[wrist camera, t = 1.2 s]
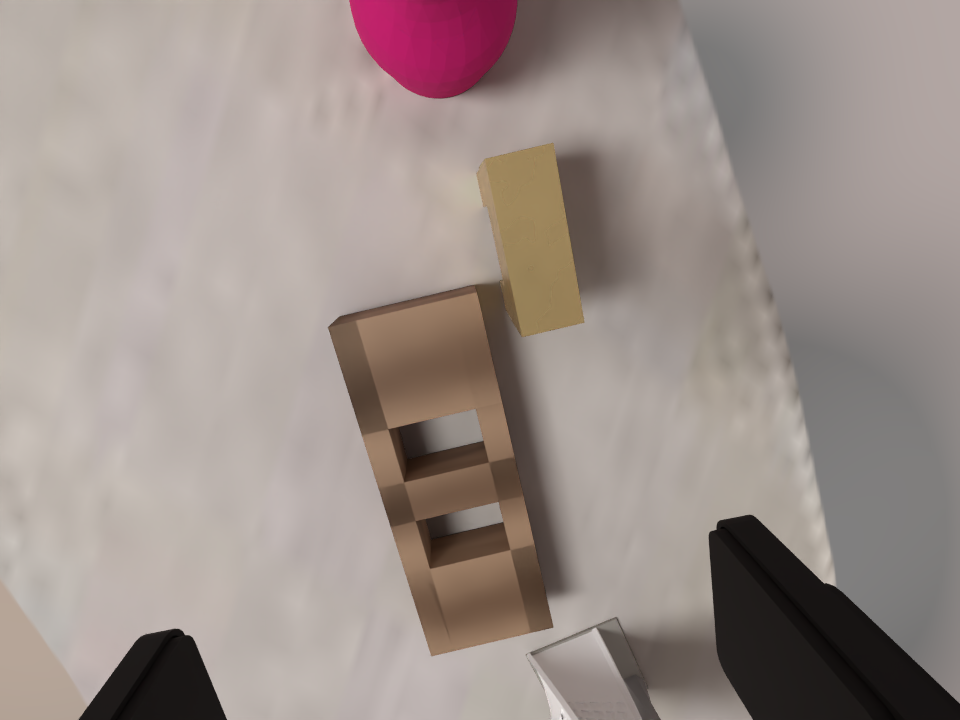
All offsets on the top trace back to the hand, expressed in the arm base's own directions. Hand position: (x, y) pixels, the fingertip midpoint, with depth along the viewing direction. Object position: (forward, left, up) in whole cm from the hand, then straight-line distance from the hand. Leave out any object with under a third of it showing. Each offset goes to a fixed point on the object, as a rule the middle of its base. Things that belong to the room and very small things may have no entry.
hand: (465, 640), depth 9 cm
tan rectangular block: (-5, +5, -23) cm, 24 cm away
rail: (+8, -2, -23) cm, 24 cm away
